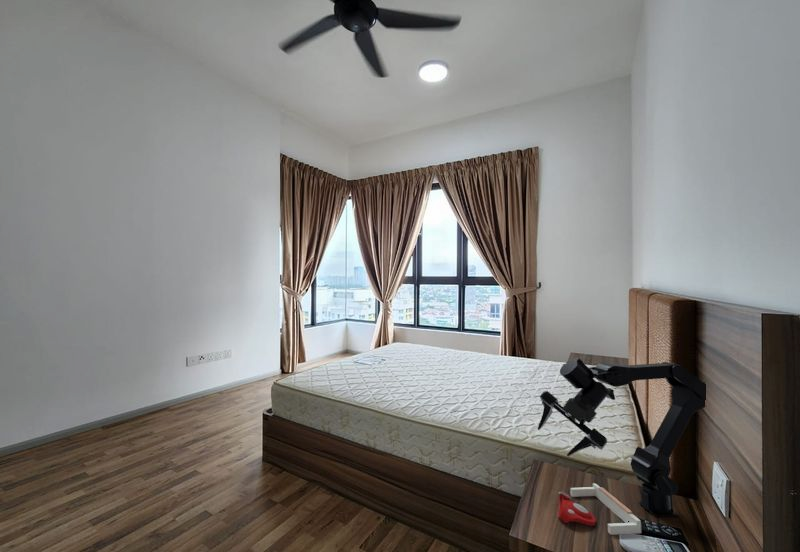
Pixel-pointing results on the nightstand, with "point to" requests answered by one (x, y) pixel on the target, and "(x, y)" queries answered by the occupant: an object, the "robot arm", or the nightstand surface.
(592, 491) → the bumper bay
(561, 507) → the tracker holder
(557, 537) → the nightstand surface
